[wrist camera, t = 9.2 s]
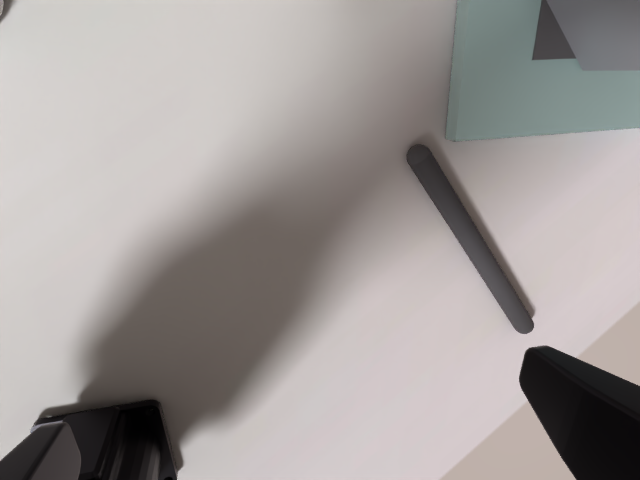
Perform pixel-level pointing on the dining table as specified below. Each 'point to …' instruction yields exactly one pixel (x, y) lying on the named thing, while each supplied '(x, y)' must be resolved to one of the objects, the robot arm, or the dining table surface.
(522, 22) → the teal flat square slab
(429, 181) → the dark grey bar
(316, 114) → the dining table surface
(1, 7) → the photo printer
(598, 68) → the light grey rectangular block
